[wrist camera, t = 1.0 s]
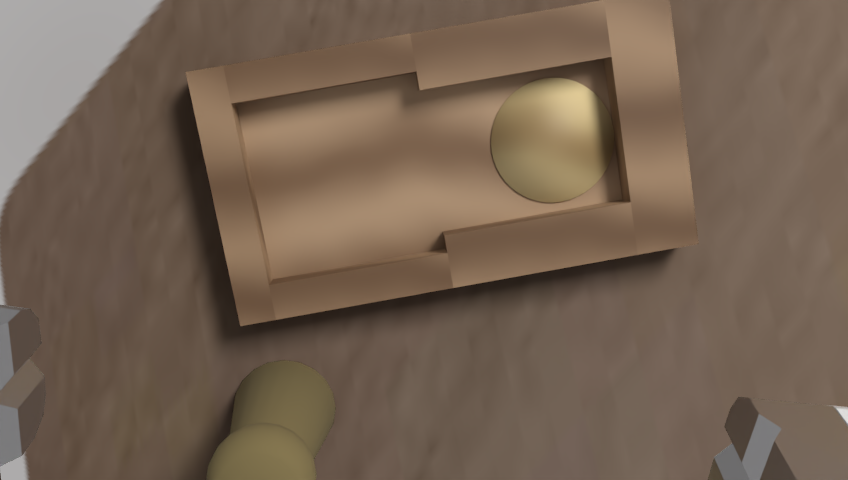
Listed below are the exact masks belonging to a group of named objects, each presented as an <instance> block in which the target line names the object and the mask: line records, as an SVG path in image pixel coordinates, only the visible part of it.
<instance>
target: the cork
mask: <svg viewBox="0 0 848 480" xmlns="http://www.w3.org/2000/svg"><path fill="white" fill-rule="evenodd" d="M335 410H336V407H335V402H334V396H333V393H332V391H331V389H330V387H329V385H328V383H327V382H326V380H325V379H324V378H323V377H322V376H321V375H320V374H319V373H318V372H317V371H315V370H314V369H313V368H310V367H308V366H306V365H304V364H302V363H300V362H293V361H286V360H281V361H275V362H269V363H266V364H264V365H262V366H260V367H258V368H256V369H254V370H253V371H252V372H251V373H250V374H249V375H248V376H247V377H246V378H245V379H244V380H243V381H242V383H241V385H240V387H239V389H238V391H237V393H236V395H235V401H234V408H233V415H232V422H231V429H230V435H229V436H228V437H227V438H226V439H225V440H224V441H223V442H222V443H221V444H220V445H219V446H218V447H217V449H216V451H215V453H214V455H213V457H212V459H211V461H210V463H209V465H208V471H207V478H206V480H316V469H315V464H314V459H315V457H316V455H317V453H318V451H319V450H320V448H321V446H322V444H323V442H324V440H325V439H326V437H327V435H328V433H329V431H330V429H331V427H332V425H333V423H334V416H335Z"/></svg>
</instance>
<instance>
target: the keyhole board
mask: <svg viewBox="0 0 848 480" xmlns="http://www.w3.org/2000/svg"><path fill="white" fill-rule="evenodd" d="M186 76H187V81H188V86H189V90H190V95H191V100H192V104H193V109H194V114H195V118H196V123H197V128H198V132H199V137H200V141H201V146H202V151H203V155H204V160H205V165H206V169H207V174H208V179H209V183H210V188H211V193H212V197H213V202H214V206H215V211H216V216H217V220H218V225H219V230H220V234H221V239H222V244H223V248H224V253H225V258H226V262H227V267H228V271H229V276H230V281H231V285H232V290H233V295H234V299H235V304H236V309H237V313H238V318H239V323H240V326H245V325H250V324H256V323H262V322H267V321H273V320H278V319H284V318H289V317H295V316H300V315H306V314H312V313H317V312H323V311H328V310H334V309H339V308H345V307H350V306H356V305H362V304H367V303H373V302H378V301H384V300H389V299H395V298H401V297H406V296H412V295H417V294H423V293H428V292H434V291H439V290H445V289H451V288H456V287H462V286H467V285H473V284H478V283H484V282H490V281H495V280H501V279H506V278H512V277H517V276H523V275H528V274H534V273H540V272H545V271H551V270H556V269H562V268H567V267H573V266H578V265H584V264H590V263H595V262H601V261H606V260H612V259H617V258H623V257H629V256H634V255H640V254H645V253H651V252H656V251H662V250H667V249H673V248H679V247H684V246H690V245H695V244H699V242H698V234H697V226H696V217H695V209H694V200H693V192H692V184H691V175H690V167H689V158H688V150H687V142H686V133H685V125H684V116H683V108H682V100H681V91H680V83H679V74H678V66H677V58H676V49H675V41H674V32H673V24H672V16H671V7H670V0H601V1H596V2H590V3H584V4H578V5H572V6H567V7H561V8H555V9H549V10H543V11H538V12H532V13H526V14H520V15H514V16H508V17H503V18H497V19H491V20H485V21H479V22H474V23H468V24H462V25H456V26H450V27H445V28H439V29H433V30H427V31H421V32H416V33H410V34H404V35H398V36H392V37H387V38H381V39H375V40H369V41H363V42H358V43H352V44H346V45H340V46H334V47H329V48H323V49H317V50H311V51H305V52H299V53H294V54H288V55H282V56H276V57H270V58H265V59H259V60H253V61H247V62H241V63H236V64H230V65H224V66H218V67H212V68H207V69H201V70H195V71H189V72H186Z"/></svg>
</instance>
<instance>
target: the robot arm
mask: <svg viewBox="0 0 848 480" xmlns="http://www.w3.org/2000/svg"><path fill="white" fill-rule="evenodd" d="M41 343H42V342H41V334H40V326H39V319H38V317H37V316H36V315H35V314H34V313H33V312H32V310H31V309H27V308H20V307H13V306H6V305H0V466H2V465H4V464H6V463H8V462H10V461H12V460H14V459H16V458H18V457H20V456H22V455H23V454H24V452H25V451H26V449H27V448H28V447H29V445H30V444H31V442H32V441H33V440H34V438H35V436H36V433H37V430H38V428H39V425H40V422H41V420H42V417H43V414H44V405H45V397H46V391H45V377H44V375H43V374H42V373H41V371H40V370H39V369H38V368H37V366H36V365H35V364H34V363H33V361H32V360H31V359H30V357H31V356H32V355H33V353H34V352H35V351H36V350H37V348H38V347H39V346H40V345H41ZM724 427H725V429H726V431H727V433H728V435H729V437H730V439H731V441H732V444H731V445H730V446H728V447H727V448H726V449H724V450H723V451H722V452H720V453H719V454H718V455H717V456H715V457H714V460H713V463H712V467H711V470H710V474H709V477H708V480H848V407H842V406H830V405H818V404H807V403H797V402H787V401H776V400H766V399H756V398H744V397H738V398H737V400H736V401H735V403H734V404H733V406H732V407H731V409H730V411H729V414H728V417H727V420H726V423H725V426H724ZM0 480H1V475H0Z"/></svg>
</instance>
